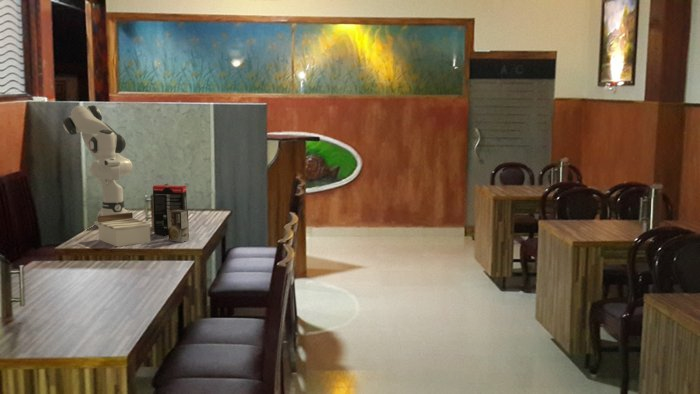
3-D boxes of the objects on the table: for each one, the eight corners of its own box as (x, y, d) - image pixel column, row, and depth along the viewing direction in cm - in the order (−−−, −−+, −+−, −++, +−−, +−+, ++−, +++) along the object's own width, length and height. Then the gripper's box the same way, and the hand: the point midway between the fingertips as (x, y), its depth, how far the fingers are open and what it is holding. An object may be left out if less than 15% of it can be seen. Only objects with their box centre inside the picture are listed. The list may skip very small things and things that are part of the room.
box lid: (97, 223, 383) (97, 216, 383) (131, 219, 395) (130, 212, 395) (115, 230, 367) (115, 222, 366) (150, 225, 379) (150, 218, 378)
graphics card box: (188, 234, 403) (187, 184, 399) (184, 236, 397) (182, 186, 392) (158, 233, 405) (156, 184, 401) (153, 236, 398) (151, 186, 394)
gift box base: (99, 241, 385) (98, 224, 383) (131, 236, 397) (131, 220, 395) (116, 248, 368) (116, 230, 367) (150, 243, 380) (149, 226, 379)
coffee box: (189, 240, 387) (188, 210, 385) (181, 242, 381) (181, 212, 379) (175, 238, 391) (174, 208, 389) (167, 241, 385) (166, 210, 383)
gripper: (93, 159, 395) (95, 185, 397) (109, 162, 379) (110, 189, 382) (105, 159, 399) (106, 184, 401) (121, 162, 384) (122, 188, 386)
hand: (108, 186), depth 391 cm, fingers closed
